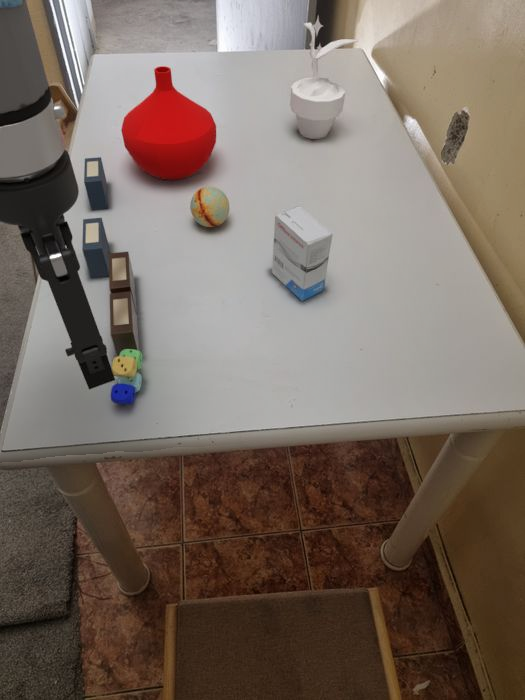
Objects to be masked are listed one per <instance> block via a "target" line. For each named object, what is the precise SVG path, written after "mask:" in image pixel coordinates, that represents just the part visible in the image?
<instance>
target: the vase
mask: <svg viewBox="0 0 525 700" xmlns="http://www.w3.org/2000/svg"><path fill="white" fill-rule="evenodd" d="M153 71H154V80H155V88H154V89H153V90H152V92H151V93H150V94H149V95H148V96H147V97H145V99H144V100H142V101H141V102H140V103H138V104H137V105H136V106H135V107H134V108H132V109H131V110H129V111H128V112H127V114H126V115H125V116H124V118H123V120H122V125H121V136H122V141H123V144H124V145H123V146H124V148H125V150H126V151H127V152H128V154H129V155H130V157H131V158H132V160H133V161H134V162H135V164H136V165H137V166H138V167H139V168H141V169H142V171H144V172H146V173H148V174H149V175H150V176H153V177H155V178H158V179H161V180H167V181H177V180H178V181H179V180H183V179H186V178H190V177H191V176H193V175H194V174H197V173H198V172H199V171H200V170H201V169H202V168H204V166H205V165H206V163H207V162H208V161H209V160H210V158H211V156H212V153H213V151H214V148H215V146H216V144H217V143H216V142H217V125H216V122H215V120H214V117H213V115H212V113H211V112H210V111H209V110H208V109H207V108H205V107H204V106H202V105H200V104H198V103H197V102H195V101H193V100H192V99H190V98H189V97H187V96H186V95H184V94H183V93H181V92H179V91H178V90H177V88H175V87H174V85H173V77H172V69H171V67H169V66H166V65H165V66H163V65H160V66H157V67H155V68H153Z"/></svg>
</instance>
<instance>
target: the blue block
mask: <svg viewBox="0 0 525 700" xmlns="http://www.w3.org/2000/svg"><path fill="white" fill-rule="evenodd" d="M103 164H104V163H103V160H102V157H101V156H99V157H88V158H87V157H86V158H84V171H83V172H84V173H83V174H84V175H83V183H84V184H83V185H84V187H85V190H86V195H87V198H88V202H89V205H90V209H91V211H98V210H106V209H109V200H108V197H109V195H108V194H109V193H108V182H107V178H106V173H105V168H104V165H103ZM81 248H82V253H83V257H84V260H85V263H86V267H87V270H88V273H89V276H90V279H98V278H106V277H109V253H110V245H109V241H108V236H107V234H106V229H105V226H104V221H103V217H91V218H84V219H82V247H81Z"/></svg>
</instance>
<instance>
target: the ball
mask: <svg viewBox="0 0 525 700" xmlns="http://www.w3.org/2000/svg"><path fill="white" fill-rule="evenodd" d="M189 207H190V208H189V209H190V214H191V215H192V217H193V219H194V220H195V221H196V222H197V223H198V224H199V225H201V226H203V227H206V228H214V227H215V228H216V227H218V226H220V225H222V224H223V223H224V222H225V221H226V220H227V218H228V216H229V213H230V207H231V206H230V201H229V199H228V197H227V195H226V193H225V192H224V191H223V190H221V189H220V188H218V187H216V186H204V187H201V188H200V189H198V190H196V192H195V193H194V194H193V196H192V197H191V199H190V206H189Z"/></svg>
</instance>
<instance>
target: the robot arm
mask: <svg viewBox="0 0 525 700" xmlns="http://www.w3.org/2000/svg"><path fill="white" fill-rule="evenodd" d="M33 25H34V24H33V21H32V18H31V15H30V10H29V6H28V3H27V0H0V223H4V224H6V225H11V226H17V228H18V229H19V232H20V233H19V234H20V237H21V239H22V243H23V245H24V248H25V250H26V251H27V252H29V253H30V255H31V256H32V259H33V262H34V264H35V267H36V270H37V273H38V275H39V278H40V279H41V280H43V281H46V282H47V283H48V286H49V288H50V291H51V292H52V296H53V298H54V299H53V300H54V301H55V304H56V306H57V309H58V312H59V314H60V317H61V319H62V322H63V325H64V327H65V329H66V332H67V334H68V337H69V340H70V346H71V347H67V348H65V349H64V350H65V354H66V356H67V357H70V356H74V357H75V361H76V362H77V363H78V366H79V368H80V371H81V373H82V376H83V378H84V381H85V382H86V386H87V388H88V390H92V389H94V388H98V387H100V386H103V385H106V384H108V383H112V382H115V381H116V378H115V376H114V375H113V372H112V365H111V363H110V359H109V356H108V349H107V345H106V344H105V343H104V342H103V341H104V340H103V337H102V335H101V333H100V330H99V328H98V325H97V323H96V320H95V319H96V318H95V316H94V314H93V311H92V308H91V305H90V303H89V300H88V296H87V294H86V291H85V289H84V286H83V283H82V280H81V278H80V274H79V271H80V270H81V265H80V262H79V259H78V257H77V254H76V251H75V248H74V245H73V234H72V230H71V227H70V225H69V223H68V221H67V220H66V218H65V215H64V214H66V213H67V212H68V211H70V210H71V209H72V208H73V206H74V205H75V204H76V202H77V200H78V198H79V192H80V191H79V185H78V181H77V178H76V174H75V171H74V168H73V164H72V161H71V157H70V154H69V152H68V151H67V150H66V142H65V138H64V135H63V131H62V128H61V125H60V122H59V121H58V120H60V119H63V118H65V116H66V111H65V108H64V107H63V105H62V104H61V103H55V104H54V99H53V97H52V91H51V88H50V85H49V81H48V78H47V74H46V71H45V66H44V62H43V58H42V55H41V52H40V48H39V45H38V41H37V36H36V33H35V29H34V26H33Z"/></svg>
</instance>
